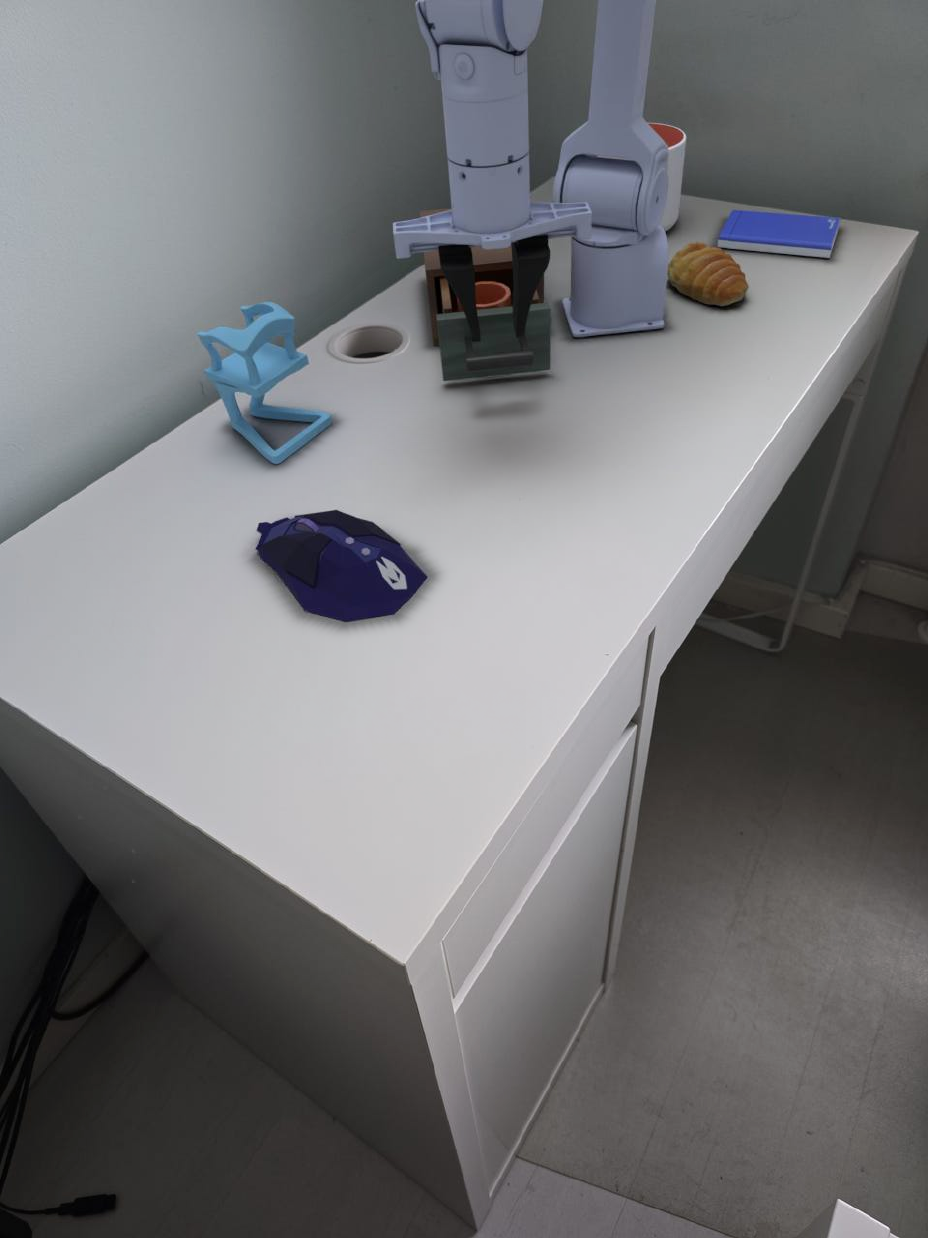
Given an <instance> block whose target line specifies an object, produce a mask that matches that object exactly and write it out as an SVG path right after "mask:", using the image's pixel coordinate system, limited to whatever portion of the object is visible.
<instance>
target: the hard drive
mask: <svg viewBox="0 0 928 1238" xmlns="http://www.w3.org/2000/svg"><path fill="white" fill-rule="evenodd" d="M841 220H842V218H841V217H834V216H833V217H832V216H822V215H821V216H819V215H810V214H809V215H808V214H794V213H780V212H769V211H756V210H742V209H732V210H731V212H730V213H729V215H728V218H727V220H726V222H725V223H724V225H723V228H722V229H721V231H720V233H719V235H718V240H717V247H716V248H721V249H722V248H723V249H732V250H743V251H754V252H762V253H774V254H785V255H792V256H793V255H794V256H795V255H796V256H803V257H804V256H805V257H815V258H824V259H830V258H831V255H832V251H833V248H834V245H835V242H836V239H837V236H838V233H839V230H840V225H841Z"/></svg>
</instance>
